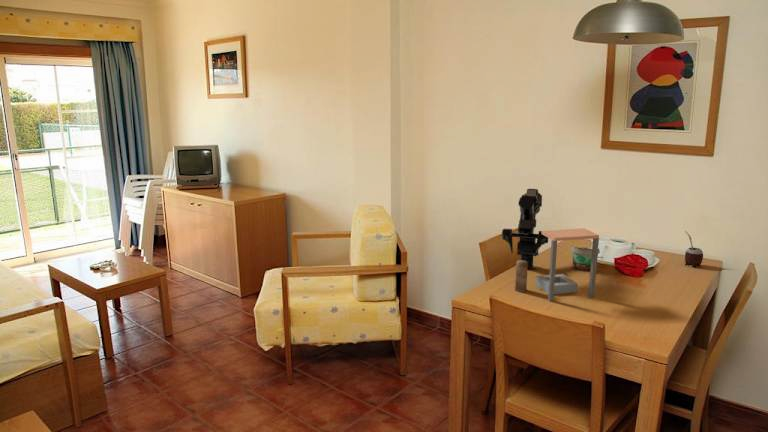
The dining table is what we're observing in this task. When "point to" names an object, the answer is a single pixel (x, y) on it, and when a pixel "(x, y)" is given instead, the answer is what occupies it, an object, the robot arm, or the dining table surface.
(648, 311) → the dining table surface
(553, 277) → the small table
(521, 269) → the peg
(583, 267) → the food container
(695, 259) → the mate gourd
